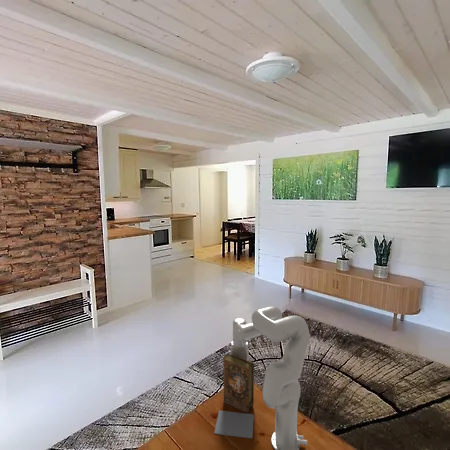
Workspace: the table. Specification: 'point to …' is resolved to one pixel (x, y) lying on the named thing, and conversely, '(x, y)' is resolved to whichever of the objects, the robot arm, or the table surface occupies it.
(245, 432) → the mat
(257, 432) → the table surface
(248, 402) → the book
